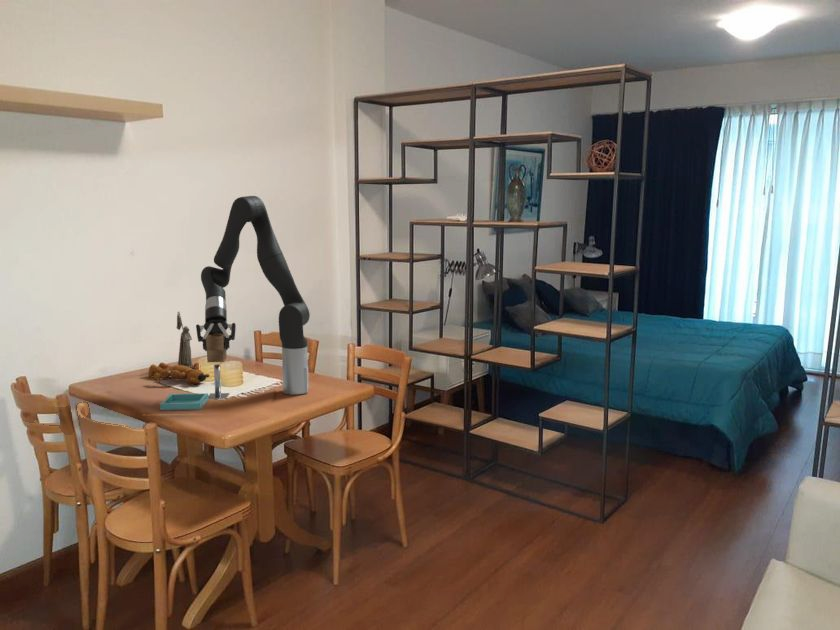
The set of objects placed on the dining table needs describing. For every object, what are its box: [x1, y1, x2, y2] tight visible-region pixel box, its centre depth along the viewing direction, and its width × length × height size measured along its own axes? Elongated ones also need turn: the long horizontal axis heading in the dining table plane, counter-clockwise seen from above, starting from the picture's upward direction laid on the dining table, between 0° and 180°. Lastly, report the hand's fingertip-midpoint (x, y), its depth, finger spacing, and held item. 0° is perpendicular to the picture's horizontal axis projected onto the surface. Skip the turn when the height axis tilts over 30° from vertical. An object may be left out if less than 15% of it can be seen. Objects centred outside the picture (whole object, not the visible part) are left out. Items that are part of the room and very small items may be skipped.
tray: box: [159, 392, 209, 411], centre depth 224 cm, size 13×12×3 cm
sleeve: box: [206, 334, 228, 363], centre depth 232 cm, size 6×6×9 cm
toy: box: [148, 362, 211, 386], centre depth 257 cm, size 20×7×30 cm
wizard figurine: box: [176, 311, 194, 368], centre depth 273 cm, size 10×8×25 cm
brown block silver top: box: [208, 363, 230, 400], centre depth 234 cm, size 7×7×12 cm
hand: (216, 349), depth 231 cm, fingers closed on sleeve, 6 cm apart
